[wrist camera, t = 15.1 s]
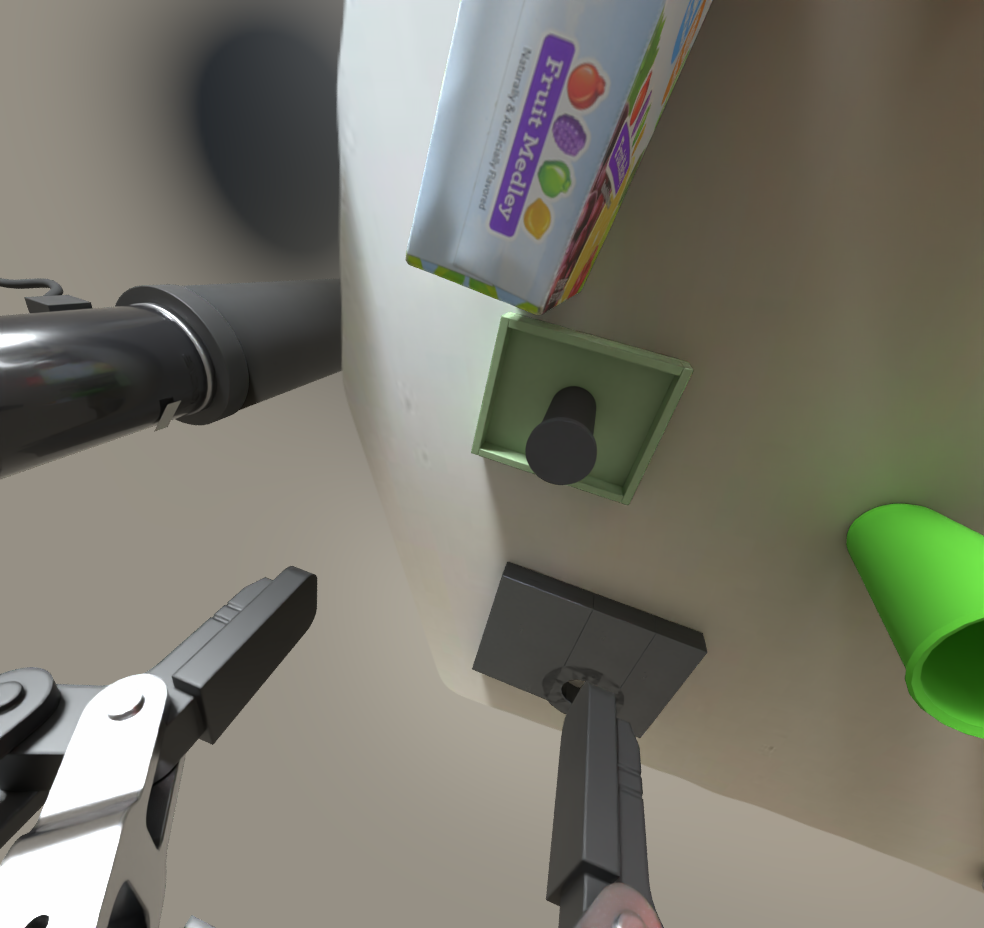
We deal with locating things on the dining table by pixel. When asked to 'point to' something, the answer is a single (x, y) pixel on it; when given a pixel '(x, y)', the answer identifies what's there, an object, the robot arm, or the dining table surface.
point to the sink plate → (584, 646)
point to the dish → (587, 364)
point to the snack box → (542, 138)
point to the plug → (564, 438)
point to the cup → (928, 605)
